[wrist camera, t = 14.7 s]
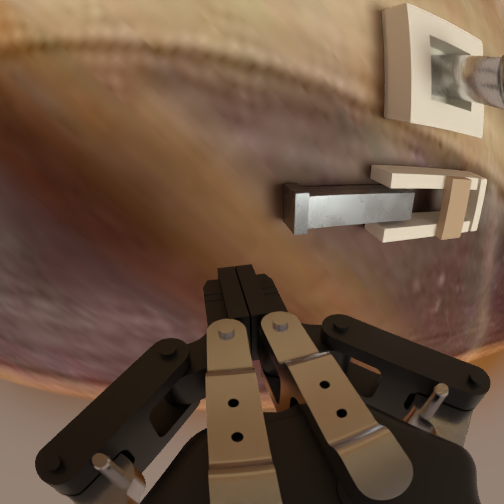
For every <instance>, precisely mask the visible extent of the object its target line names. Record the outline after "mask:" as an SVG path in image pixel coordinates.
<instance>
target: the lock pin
mask: <svg viewBox="0 0 504 504" xmlns="http://www.w3.org/2000/svg"><path fill="white" fill-rule="evenodd" d="M414 195H415V193H414V192H412V191H410V190H408V189H406V188H389V187H387V186H385V185H345V186H316V187H301V186H299V185H298V184H297V183H289V184H284V191H283V222H284V223H285V224H286V225H287V226H288V228H289V229H290V230H291V231H292V233H293V234H294V235H297V234H307V231H308V229H310V228H320V227H331V226H342V225H353V224H365V223H377V222H389V221H401V220H410V219H411V214H412V208H413V202H414Z"/></svg>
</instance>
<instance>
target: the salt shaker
mask: <svg viewBox="0 0 504 504" xmlns="http://www.w3.org/2000/svg"><path fill="white" fill-rule="evenodd" d="M431 95H433V96H439V97H445V98H452V99H458V100H464V101H469V102H474V103H479V104H484V105H488V106H493V107H497V108H501V109H504V55H503V56H502V57H501V58H500V57H489V56H474V55H431Z"/></svg>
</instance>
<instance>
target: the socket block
mask: <svg viewBox="0 0 504 504" xmlns="http://www.w3.org/2000/svg"><path fill="white" fill-rule="evenodd" d="M381 15H382V27H383V44H384V118H386V119H392V120H398V121H404V122H409V123H415V124H421V125H426V126H431V127H436V128H441V129H446V130H450V131H455V132H459V133H463V134H467V135H471V136H475V137H479V138H482V134H483V119H484V104H479V103H474V102H469V101H464V100H458V99H452V98H445V97H439V96H433V95H431V55H474V56H483V48H482V41H481V40H479V39H478V38H476V37H474V36H473V35H471V34H469V33H467V32H466V31H464V30H462V29H460V28H459V27H457V26H455V25H453V24H451V23H449V22H447V21H445V20H443V19H441V18H439V17H437V16H435V15H433V14H431V13H429V12H427V11H425V10H422V9H420V8H418V7H415V6H413V5H411V4H408V3H404V4H401V5H398V6H394V7H391V8H388V9H385V10H382V11H381Z"/></svg>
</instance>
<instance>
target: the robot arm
mask: <svg viewBox="0 0 504 504" xmlns="http://www.w3.org/2000/svg"><path fill="white" fill-rule="evenodd" d="M203 290H204V299H205V307H206V315H207V323H208V329H207V332H206V333H205V335H204V336H203V337H202V338H200V339H199V340H197V341H195V342H193V343H190V344H186V343H185V342H183V341H182V340H179V339H175V338H167V339H163V340H160V341H158V342H156V343H155V344H154V345H153V346H152V347H150V348H149V349H148V350H147V351H146V352H145V353H144V354H143V355H142V356H141V357H140V358H139V359H138V360H137V361H135V362H134V363H133V364H132V365H131V366H130V367H129V368H128V369H127V370H126V371H125V372H124V373H123V374H122V375H120V376H119V377H118V378H117V379H116V380H115V381H114V382H113V383H112V384H111V385H110V386H109V387H108V388H107V389H105V390H104V391H103V392H102V393H101V394H100V395H99V396H98V397H97V398H96V399H95V400H94V401H93V402H92V403H90V404H89V405H88V406H87V407H86V408H85V409H84V410H83V411H82V412H81V413H80V414H79V415H78V416H77V417H76V418H75V419H73V420H72V421H71V422H70V423H69V424H68V425H67V426H66V427H65V428H64V429H63V430H61V431H60V432H59V433H58V434H57V435H56V436H55V437H54V438H53V439H52V440H51V441H50V442H49V443H48V444H46V445H45V446H44V447H43V448H42V449H41V450H40V451H39V453H38V455H37V457H36V460H35V467H36V471H37V473H38V475H39V477H40V478H41V479H42V480H43V481H44V482H46V483H47V484H49V485H50V486H51V487H53V488H54V489H55V490H56V491H58V492H59V493H60V494H62V495H63V496H65V497H67V498H68V499H70V500H72V501H73V502H74V503H75V504H139V502H140V498H141V496H142V495H143V493H144V491H145V488H146V482H145V478H144V476H143V475H142V472H143V471H144V470H145V469H146V468H147V466H148V465H149V464H150V463H151V462H152V461H153V460H154V458H155V457H156V456H157V455H158V454H159V452H160V451H161V450H162V449H163V448H164V447H165V445H166V444H167V443H168V442H169V441H170V440H171V438H172V437H173V436H174V435H175V433H176V432H177V431H178V430H179V429H180V427H181V426H182V425H183V424H184V423H185V421H186V420H187V419H188V418H189V416H190V415H191V414H192V413H193V412H194V410H195V409H196V408H197V407H198V405H199V403H200V400H201V399H203V398H206V413H207V428H206V429H204V430H202V431H200V432H199V433H197V434H196V435H195V436H193V437H192V438H191V439H190V440H189V441H188V442H187V443H186V444H185V445H184V446H183V448H182V449H181V451H180V452H179V453H178V455H177V456H176V457H175V459H174V460H173V461H172V463H171V464H170V465H169V467H168V468H167V469H166V471H165V472H164V473H163V474H162V476H161V477H160V479H159V480H158V481H157V482H156V483H155V485H154V486H153V488H152V489H151V490H150V491H149V492H148V494H147V495H146V496H145V497H144V499H143V500H142V501H141V503H140V504H481V503H480V500H479V496H478V490H477V478H476V466H475V463H474V461H473V459H472V457H471V455H470V454H469V452H468V451H467V450H466V449H464V448H463V446H464V442H465V439H466V435H467V432H468V428H469V424H470V420H471V416H472V412H473V410H474V409H475V407H476V406H477V405H478V403H479V402H480V401H481V399H482V398H483V397H484V396H485V394H486V393H487V392H488V390H489V388H490V379H489V376H488V375H487V373H486V372H485V371H484V370H483V369H481V368H479V367H477V366H475V365H472V364H469V363H467V362H464V361H461V360H459V359H456V358H453V357H451V356H448V355H446V354H443V353H440V352H438V351H435V350H432V349H430V348H427V347H425V346H422V345H420V344H417V343H414V342H412V341H409V340H407V339H404V338H402V337H399V336H397V335H394V334H392V333H389V332H387V331H384V330H382V329H379V328H377V327H374V326H372V325H369V324H367V323H364V322H362V321H359V320H357V319H354V318H352V317H349V316H347V315H342V314H335V315H331V316H328V317H327V318H325V319H324V321H323V323H322V325H309V324H303V323H300V321H299V320H298V319H297V317H296V316H294V315H293V314H291V313H288V311H287V309H286V307H285V305H284V303H283V301H282V299H281V297H280V295H279V293H278V291H277V289H276V287H275V285H274V282H273V280H272V279H271V278H269V277H268V276H267V275H265V274H259V275H256V274H255V271H254V269H253V267H252V265H251V264H250V265H241V266H235V268H234V266H233V267H224V268H218V279H217V280H209V281H207V282H206V284H205V286H204V287H203ZM251 357H252V360H260V363H261V375H262V378H263V380H264V383H265V385H266V387H267V390H268V392H269V395H270V397H271V399H272V402H273V404H274V406H275V409H276V412H274V413H273V412H270V413H269V412H263V410H262V405H261V400H260V394H259V389H258V383H257V378H256V373H255V369H254V368H253V366H252V361H251ZM351 358H354V359H356V360H359V361H361V362H363V363H366V364H368V365H370V366H372V367H375V368H377V369H378V370H379V371H380V372H381V374H382V375H381V374H377V373H374V372H372V371H370V370H368V369H365V368H363V367H361V366H359V365H356V364H354V363H352V362H350V361H351Z"/></svg>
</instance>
